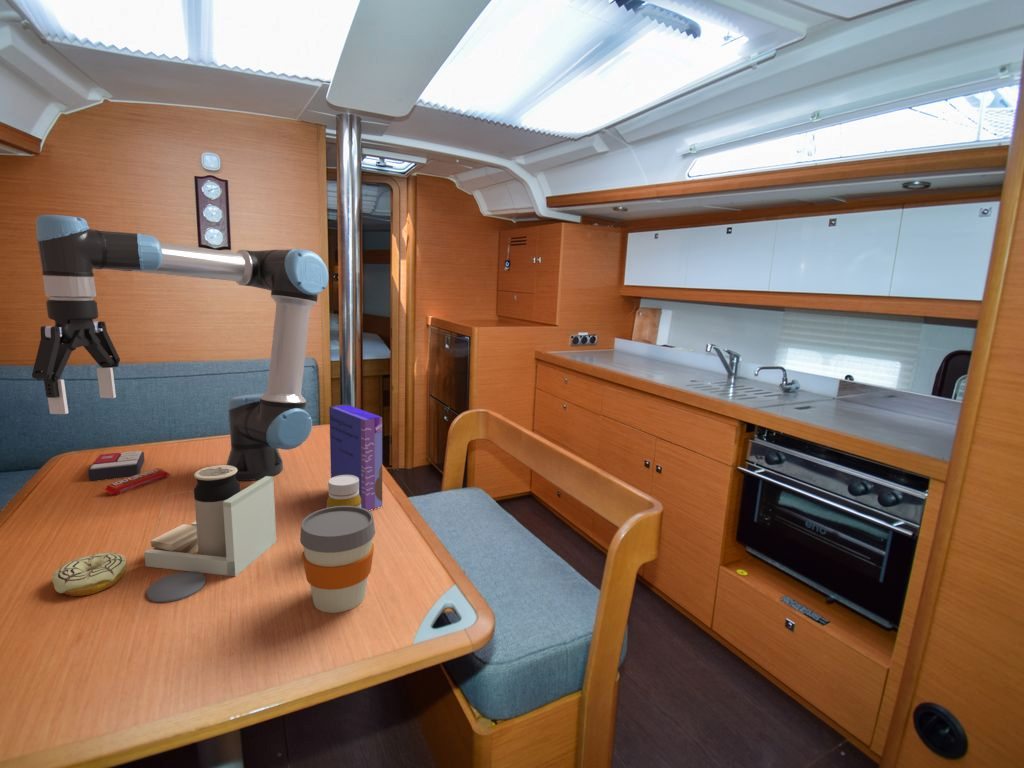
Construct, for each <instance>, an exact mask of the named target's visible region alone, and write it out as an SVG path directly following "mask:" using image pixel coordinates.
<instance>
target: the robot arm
mask: <svg viewBox="0 0 1024 768" xmlns="http://www.w3.org/2000/svg"><path fill="white" fill-rule="evenodd" d="M35 227H36V228H35V229H36V242H37V247H38V248H37V249H38V253H39V258H40V265H41V273H42V277H43V278H42V280H43V287H44V295H45V297H47V298H49V299H48V300H47V301H46V302H45V305H46V312H47V318H48V319H50V320H53V321H54V326H52V325H51V326H50V325H43V326H40V340H39V345H38V348H37V353H36V358H35V360H34V361H35V362H34V365H33V367H32V369H33V370H32V374H31V377H32V378H33V380H34V379H35V380H38V381H42V382H43V384H44V390H45V391H44V392H45V396H46V399H47V402H48V403H47V404H48V409H49V414H50V415H66V414H69V407H68V399H67V392H66V386H65V385H66V384H65V379H61V376H62V374H63V371H64V370H65V368H66V365H67V364H68V361H69V358H70V357H71V354H72V352H73V351H75V350H76V349H77V348H81V347H83V348H84V349H85V350H86V351H87V352H88V353H89V355H90V357H91V358H93V360H94V361H95V363H97V365H98V366H99V367H96V375H97V384H98V391H99V398H101V399H115V398H117V395H116V386H115V374H114V368H119V366H120V362H121V359H120V356H119V354H118V351H117V349H116V348H115V345H114V344H113V341H112V339H111V337H110V335H109V333H108V330H107V325H106V322H105V321H102V320H101V321H99V320H97V319H98V318H99V310H98V302H97V301H96V300H95V299H94V298H96V297H97V292H96V291H97V289H96V284H95V276H94V270H112V271H120V272H121V271H122V272H134V273H143V274H144V273H145V274H146V273H147V274H156V275H167V276H179V277H190V278H200V279H208V280H218V281H219V280H221V281H232V282H236V284H237V285H239V286H242V287H243V286H245V287H253V288H256V289H263V290H267V291H271V292H270V297H271V299H273V302H275V312H274V313H275V314H274V323H273V331H272V332H273V333H272V341H271V343H272V344H271V351H270V352H271V353H270V361H269V369H268V379H267V388H266V391H265V393H254V394H253V393H252V394H244V395H239V396H234V397H232V398H230V400H229V401H228V410H227V412H228V418H229V420H228V423H229V433H230V451H229V454H228V457H227V460H226V464H225V465H229V466H234V467H236V468H237V473H236V477H235V478H236V479H237V481H255V480H257V481H258V480H260V479H262V478H264V477H265V476H271V477H274V476H276V475H278V474H280V473H281V472H282V471H283V470H284V462H283V459H282V457H281V456H282V455H281V454H280V452H279V449H280V450H286V451H288V450H293V449H296V448H298V447H300V446H302V445H303V443H305V441H306V440H307V439H308V438H309V436H310V434H311V432H312V429H313V419H312V417H311V416H310V414H309V413H308V412H307V411H306V404H307V400H306V398H304V396H303V395H302V388H303V381H304V380H303V379H304V371H305V360H306V352H307V341H308V334H309V323H310V315H311V309H312V307H314V306H315V305H317V304H318V297H319V296H318V295H319V294H321V293H322V292H323V291H324V290H325V289H326V287H327V286H328V283H329V270H328V267H327V265H326V263H325V262H324V260H323V259H322V258H321V256H319V255H318V254H317V253H316V252H314V251H311V250H307V249H300V248H293V249H267V250H247V249H239V250H237V251H236V252H234V251H228V250H226V251H225V250H220V249H213V248H205V247H197V246H190V245H183V244H175V243H170V242H169V243H167V242H160V241H159V240H158V239H157V238H156V236H154V235H151V234H141V233H139V232H137V233H134V232H133V233H132V232H125V231H123V232H122V231H111V230H109V231H108V230H107V231H106V230H97V229H92V228H90V226H89V225H88V221H87V220H86V219H85V218H82V217H77V216H71V215H70V216H69V215H60V214H58V215H57V214H41V215H39V216H37V217H36V220H35ZM95 320H97V321H95Z"/></svg>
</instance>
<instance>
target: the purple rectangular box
mask: <svg viewBox="0 0 1024 768" xmlns="http://www.w3.org/2000/svg"><path fill="white" fill-rule="evenodd" d="M328 410H329V411H328V412H329V439H330V440H329V443H330V446H329V448H330V453H329V454H330V479H331V478H332V477H335V476H339V475H353V476H356V477H358V478H359V495H360V497H361V508H364V509H366V510H368V511H369V510H371V509H375V508H378V507H381V506H382V507H383V417H382V416H380V415H378V414H374V413H372V412H368V411H366V410H363V409H361V408H358V407H355V406H352V405H349V404H346V403H345V404H344V403H343V404H336V405H331V406H329V409H328Z"/></svg>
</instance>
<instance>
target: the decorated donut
mask: <svg viewBox="0 0 1024 768" xmlns="http://www.w3.org/2000/svg"><path fill="white" fill-rule="evenodd" d="M127 565H128V562H127V558H126V557H125V556H124V555H123V554H121V553H117V552H116V553H115V552H98V553H94V554H90V555H84V556H82V557H78V558H75V559H73V560H71V561H68V562H66V563H65V564H63V565H62V566H61V567H59V568H58V569H56V570H55V571H54V573H53V575H52V576H53V577H51V582H52V583H53V584H52V585H53V587H54V590H55V592H57V593H59V594H64V595H66V596H69V595H70V596H69V597H79V596H80V597H84V596H90V595H95V593H96V594H97V593H99V592H101V591H104V590H107V589H108V588H111V587H112V586H113V585H115V584H117V583H118V582H119V580H120V579H121V578H122V577H123V576H124V574H125V572H126V570H127Z"/></svg>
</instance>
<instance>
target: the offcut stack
mask: <svg viewBox="0 0 1024 768" xmlns="http://www.w3.org/2000/svg"><path fill="white" fill-rule="evenodd" d="M150 546H151V548H152V549H153V550H162V551H171V552H181V553H190V554H195V553H196V552H197V551H198V540H197V527H196V526H191V524H186V523H185V524H184V523H183V524H180V525H179V526H177V527H175V528H172V529H170V530H169V531H167V532H165V533H163V534H161V535H159V536H156V537H155V538H153V539H151V540H150Z"/></svg>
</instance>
